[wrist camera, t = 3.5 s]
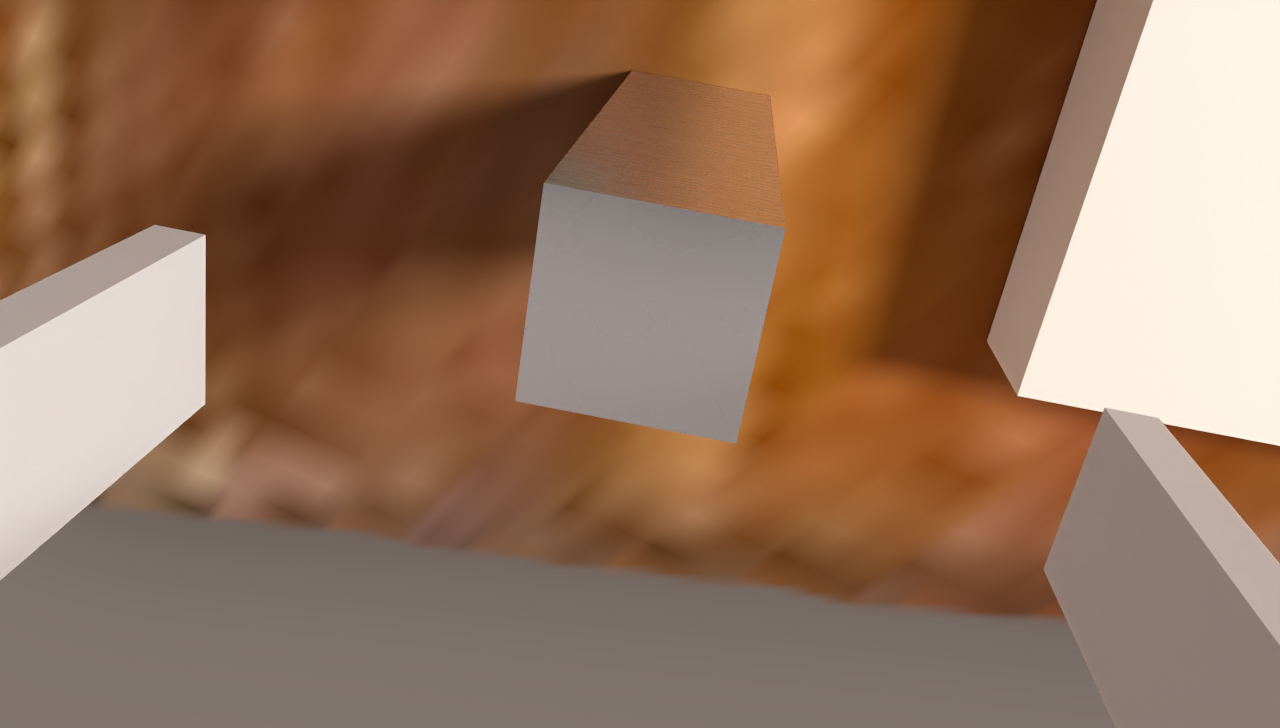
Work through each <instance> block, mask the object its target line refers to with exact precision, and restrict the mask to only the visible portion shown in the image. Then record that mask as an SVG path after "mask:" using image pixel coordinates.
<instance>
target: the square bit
mask: <svg viewBox="0 0 1280 728" xmlns="http://www.w3.org/2000/svg"><path fill="white" fill-rule="evenodd" d="M784 232H785V220H784V211H783V202H782V193H781V185H780V176H779V167H778V159H777V150H776V141H775V133H774V124H773V115H772V107H771V98H770V96H767V95H762V94H756V93H751V92H746V91H740V90H735V89H729V88H724V87H719V86H713V85H708V84H702V83H697V82H692V81H686V80H681V79H675V78H670V77H664V76H659V75H654V74H648V73H643V72H637V71H631V73H630V74H629V75H628V76H627V78H626V79H625V80H624V82H623V83H622V84H621V85H620V87H619V88H618V89H617V90H616V92H615V93H614V94H613V95H612V97H611V98H610V99H609V101H608V102H607V103H606V104H605V106H604V107H603V108H602V109H601V111H600V112H599V113H598V115H597V116H596V117H595V118H594V120H593V121H592V122H591V123H590V125H589V126H588V127H587V128H586V130H585V131H584V132H583V134H582V135H581V136H580V137H579V139H578V140H577V141H576V142H575V144H574V145H573V146H572V147H571V149H570V150H569V151H568V153H567V154H566V155H565V156H564V158H563V159H562V160H561V161H560V163H559V164H558V165H557V167H556V168H555V169H554V170H553V172H552V173H551V174H550V175H549V177H548V178H547V179H546V180H545V182H544V184H543V192H542V200H541V207H540V215H539V223H538V230H537V238H536V246H535V253H534V261H533V269H532V276H531V284H530V292H529V299H528V307H527V315H526V322H525V330H524V338H523V345H522V353H521V361H520V368H519V376H518V383H517V391H516V399H515V401H518V402H524V403H529V404H534V405H539V406H544V407H549V408H555V409H560V410H565V411H570V412H575V413H581V414H586V415H591V416H596V417H601V418H606V419H612V420H617V421H622V422H627V423H632V424H638V425H643V426H648V427H653V428H658V429H664V430H669V431H674V432H679V433H684V434H689V435H695V436H700V437H705V438H710V439H715V440H721V441H726V442H731V443H736V442H737V438H738V433H739V429H740V425H741V420H742V416H743V412H744V407H745V403H746V399H747V394H748V390H749V385H750V381H751V377H752V372H753V368H754V364H755V359H756V355H757V350H758V346H759V342H760V337H761V333H762V329H763V324H764V320H765V316H766V311H767V307H768V302H769V298H770V294H771V289H772V285H773V281H774V276H775V272H776V267H777V263H778V259H779V254H780V250H781V246H782V241H783V237H784Z"/></svg>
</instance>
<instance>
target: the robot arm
mask: <svg viewBox="0 0 1280 728" xmlns="http://www.w3.org/2000/svg"><path fill="white" fill-rule="evenodd" d="M205 289H206V235H204V234H199V233H194V232H189V231H184V230H178V229H173V228H168V227H163V226H158V225H153V226H151V227H149V228H147V229H145V230H143V231H141V232H139V233H137V234H135V235H133V236H131V237H129V238H127V239H125V240H123V241H121V242H119V243H117V244H114V245H112V246H110V247H108V248H106V249H104V250H102V251H100V252H98V253H96V254H94V255H92V256H90V257H88V258H86V259H84V260H82V261H80V262H78V263H76V264H74V265H72V266H69V267H67V268H65V269H63V270H61V271H59V272H57V273H55V274H53V275H51V276H49V277H47V278H45V279H43V280H41V281H39V282H37V283H35V284H33V285H31V286H29V287H27V288H24V289H22V290H20V291H18V292H16V293H14V294H12V295H10V296H8V297H6V298H4V299H2V300H0V580H1V579H2V578H3V577H5V576H6V575H7V574H8V573H9V572H10V571H11V570H13V569H14V568H15V567H16V566H17V565H18V564H20V563H21V562H22V561H23V560H24V559H25V558H27V557H28V556H29V555H30V554H31V553H33V552H34V551H35V550H36V549H37V548H38V547H40V546H41V545H42V544H43V543H44V542H45V541H46V540H48V539H49V538H50V537H51V536H52V535H53V534H55V533H56V532H57V531H58V530H59V529H60V528H62V527H63V526H64V525H65V524H66V523H67V522H69V521H70V520H71V519H72V518H73V517H74V516H75V515H77V514H78V513H79V512H80V511H81V510H83V509H84V508H85V507H86V506H87V505H88V504H90V503H91V502H92V501H93V500H94V499H95V498H96V497H98V496H99V495H100V494H101V493H102V492H103V491H105V490H106V489H107V488H108V487H109V486H110V485H112V484H113V483H114V482H115V481H116V480H117V479H119V478H120V477H121V476H122V475H123V474H124V473H126V472H127V471H128V470H129V469H130V468H131V467H133V466H134V465H135V464H136V463H137V462H138V461H140V460H141V459H142V458H143V457H144V456H145V455H146V454H148V453H149V452H150V451H151V450H152V449H153V448H155V447H156V446H157V445H158V444H159V443H160V442H162V441H163V440H164V439H165V438H166V437H167V436H169V435H170V434H171V433H172V432H173V431H174V430H176V429H177V428H178V427H179V426H180V425H181V424H183V423H184V422H185V421H186V420H187V419H188V418H189V417H191V416H192V415H193V414H194V413H195V412H196V411H198V410H199V409H200V408H201V407H202V406H203V405H205ZM1044 571H1045V574H1046V576H1047V578H1048V580H1049V582H1050V585H1051V587H1052V589H1053V591H1054V593H1055V596H1056V598H1057V600H1058V602H1059V604H1060V607H1061V609H1062V611H1063V613H1064V615H1065V618H1066V620H1067V622H1068V624H1069V626H1070V629H1071V631H1072V633H1073V635H1074V637H1075V640H1076V642H1077V644H1078V646H1079V649H1080V651H1081V653H1082V655H1083V657H1084V660H1085V662H1086V664H1087V666H1088V668H1089V671H1090V672H1091V675H1092V677H1093V679H1094V681H1095V684H1096V686H1097V688H1098V690H1099V692H1100V695H1101V697H1102V699H1103V701H1104V704H1105V706H1106V708H1107V710H1108V712H1109V715H1110V717H1111V719H1112V721H1113V723H1114V726H1115V728H1280V563H1279V562H1278V561H1277V560H1276V559H1275V557H1274V556H1273V555H1272V554H1271V553H1270V551H1269V550H1268V549H1267V548H1266V547H1265V545H1264V544H1263V543H1262V542H1261V541H1260V539H1259V538H1258V537H1257V536H1256V535H1255V533H1254V532H1253V531H1252V530H1251V529H1250V527H1249V526H1248V525H1247V524H1246V523H1245V521H1244V520H1243V519H1242V518H1241V517H1240V515H1239V514H1238V513H1237V512H1236V511H1235V509H1234V508H1233V507H1232V506H1231V505H1230V503H1229V502H1228V501H1227V500H1226V498H1225V497H1224V496H1223V495H1222V494H1221V492H1220V491H1219V490H1218V489H1217V488H1216V486H1215V485H1214V484H1213V483H1212V482H1211V480H1210V479H1209V478H1208V477H1207V476H1206V474H1205V473H1204V472H1203V471H1202V470H1201V468H1200V467H1199V466H1198V465H1197V464H1196V462H1195V461H1194V460H1193V459H1192V458H1191V456H1190V455H1189V454H1188V453H1187V452H1186V450H1185V449H1184V448H1183V447H1182V446H1181V444H1180V443H1179V442H1178V441H1177V440H1176V438H1175V437H1174V436H1173V435H1172V434H1171V432H1170V431H1169V430H1168V429H1167V428H1166V426H1165V425H1164V424H1163V423H1162V421H1161V420H1160V419H1159V418H1157V417H1152V416H1146V415H1141V414H1136V413H1131V412H1126V411H1120V410H1115V409H1110V408H1104V410H1103V413H1102V416H1101V418H1100V421H1099V424H1098V426H1097V429H1096V432H1095V434H1094V437H1093V439H1092V442H1091V445H1090V447H1089V450H1088V453H1087V455H1086V458H1085V461H1084V463H1083V466H1082V469H1081V471H1080V474H1079V476H1078V479H1077V482H1076V484H1075V487H1074V490H1073V492H1072V495H1071V498H1070V500H1069V503H1068V506H1067V508H1066V511H1065V513H1064V516H1063V519H1062V521H1061V524H1060V527H1059V529H1058V532H1057V535H1056V537H1055V540H1054V543H1053V545H1052V548H1051V550H1050V553H1049V556H1048V558H1047V561H1046V564H1045V566H1044Z"/></svg>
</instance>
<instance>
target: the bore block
mask: <svg viewBox="0 0 1280 728" xmlns="http://www.w3.org/2000/svg"><path fill="white" fill-rule="evenodd" d="M987 343H988V345H989V346H990V348H991V350H992V352H993V353H994V355H995V357H996V359H997V361H998V362H999V364H1000V366H1001V368H1002V369H1003V371H1004V373H1005V375H1006V377H1007V378H1008V380H1009V382H1010V384H1011V385H1012V387H1013V389H1014V391H1015V393H1016V394H1017V396H1021V397H1026V398H1032V399H1037V400H1042V401H1047V402H1053V403H1058V404H1063V405H1068V406H1074V407H1079V408H1084V409H1089V410H1095V411H1100V412H1103V410H1104V408H1110V409H1115V410H1120V411H1126V412H1131V413H1136V414H1141V415H1146V416H1152V417H1157V418H1159V419H1160V420H1161V421H1162V423H1163V424H1168V425H1173V426H1179V427H1184V428H1189V429H1194V430H1200V431H1205V432H1210V433H1215V434H1221V435H1226V436H1231V437H1236V438H1242V439H1247V440H1252V441H1257V442H1263V443H1268V444H1273V445H1278V446H1280V0H1097V2H1096V5H1095V8H1094V11H1093V14H1092V17H1091V21H1090V24H1089V27H1088V30H1087V33H1086V36H1085V39H1084V42H1083V45H1082V48H1081V51H1080V55H1079V58H1078V61H1077V64H1076V67H1075V70H1074V73H1073V76H1072V79H1071V82H1070V85H1069V89H1068V92H1067V95H1066V98H1065V101H1064V104H1063V107H1062V110H1061V113H1060V116H1059V119H1058V123H1057V126H1056V129H1055V132H1054V135H1053V138H1052V141H1051V144H1050V147H1049V150H1048V153H1047V157H1046V160H1045V163H1044V166H1043V169H1042V172H1041V175H1040V178H1039V181H1038V184H1037V188H1036V191H1035V194H1034V197H1033V200H1032V203H1031V206H1030V209H1029V212H1028V215H1027V218H1026V222H1025V225H1024V228H1023V231H1022V234H1021V237H1020V240H1019V243H1018V246H1017V249H1016V252H1015V256H1014V259H1013V262H1012V265H1011V268H1010V271H1009V274H1008V277H1007V280H1006V283H1005V286H1004V290H1003V293H1002V296H1001V299H1000V302H999V305H998V308H997V311H996V314H995V317H994V320H993V324H992V327H991V330H990V333H989V336H988V339H987Z"/></svg>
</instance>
